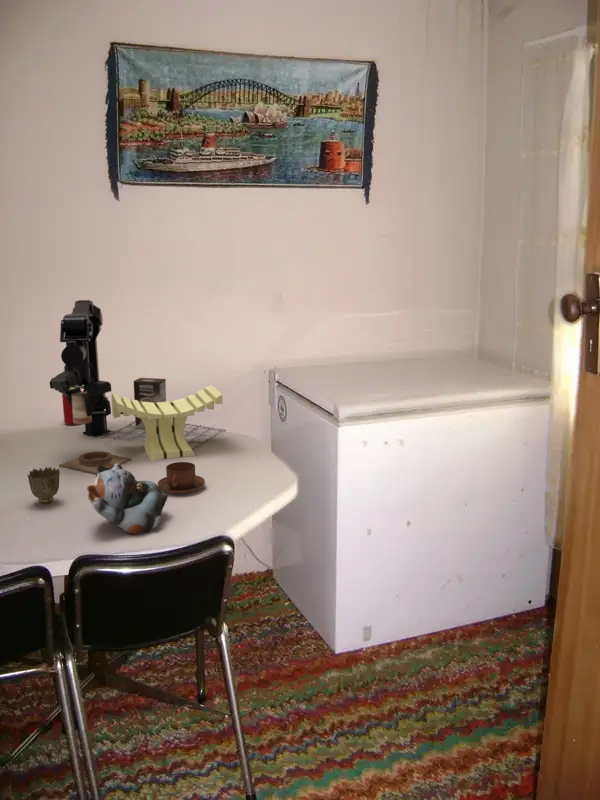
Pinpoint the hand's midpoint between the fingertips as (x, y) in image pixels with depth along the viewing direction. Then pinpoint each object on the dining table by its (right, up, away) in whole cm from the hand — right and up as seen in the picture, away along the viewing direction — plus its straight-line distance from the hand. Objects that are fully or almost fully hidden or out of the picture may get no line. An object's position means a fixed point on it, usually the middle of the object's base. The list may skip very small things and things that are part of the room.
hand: (82, 414), depth 212 cm
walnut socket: (+4, -14, 0) cm, 14 cm away
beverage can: (-15, -4, +41) cm, 44 cm away
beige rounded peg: (0, -2, 0) cm, 2 cm away
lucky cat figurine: (+23, -24, -42) cm, 53 cm away
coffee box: (+12, -5, +37) cm, 39 cm away
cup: (0, -21, -29) cm, 36 cm away
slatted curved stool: (+22, -11, +12) cm, 28 cm away
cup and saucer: (+31, -19, -20) cm, 41 cm away
